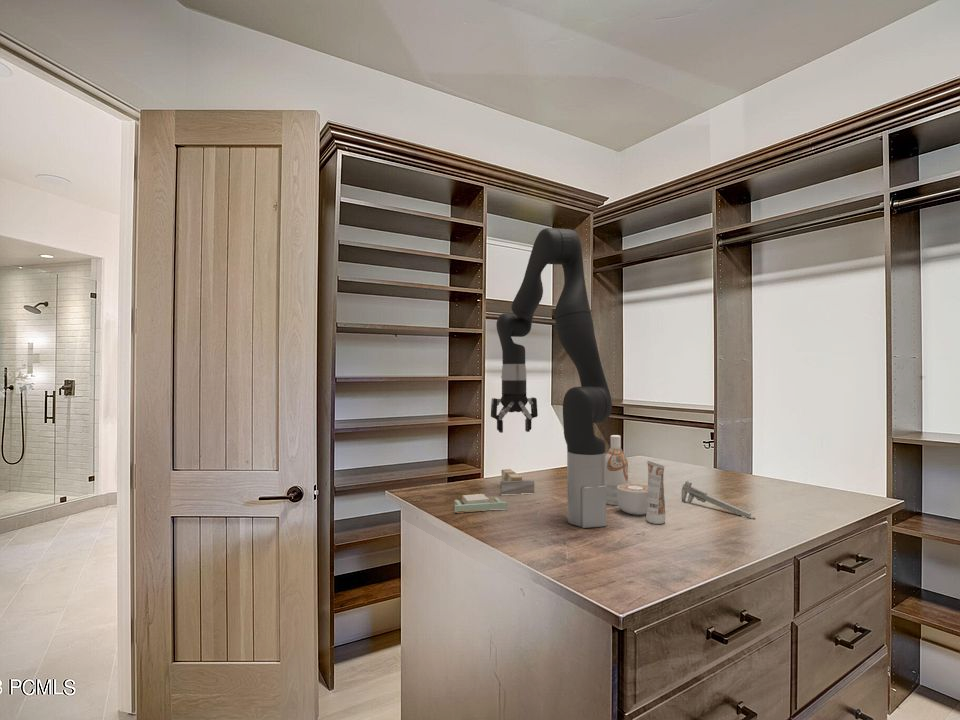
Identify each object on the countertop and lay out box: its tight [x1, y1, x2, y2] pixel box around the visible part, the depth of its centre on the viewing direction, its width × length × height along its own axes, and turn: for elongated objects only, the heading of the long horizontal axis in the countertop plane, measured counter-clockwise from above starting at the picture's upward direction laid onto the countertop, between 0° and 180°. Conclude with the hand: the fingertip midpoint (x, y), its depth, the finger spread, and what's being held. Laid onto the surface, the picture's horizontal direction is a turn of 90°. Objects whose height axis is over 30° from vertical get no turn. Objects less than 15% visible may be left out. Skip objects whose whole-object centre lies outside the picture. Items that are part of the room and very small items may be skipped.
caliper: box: [681, 480, 756, 519], centre depth 138 cm, size 20×1×6 cm, turn 34°
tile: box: [462, 493, 490, 504], centre depth 143 cm, size 6×6×2 cm
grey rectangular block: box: [500, 468, 535, 495], centre depth 160 cm, size 13×10×5 cm
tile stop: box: [454, 496, 508, 513], centre depth 139 cm, size 6×14×2 cm, turn 103°
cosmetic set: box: [605, 434, 666, 525], centre depth 136 cm, size 25×9×19 cm, turn 16°
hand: (514, 431), depth 159 cm, fingers open, 8 cm apart
